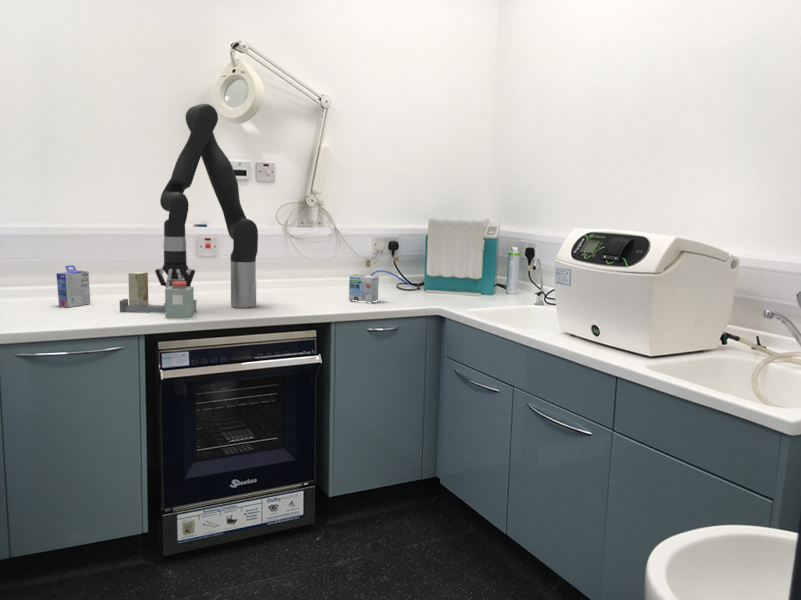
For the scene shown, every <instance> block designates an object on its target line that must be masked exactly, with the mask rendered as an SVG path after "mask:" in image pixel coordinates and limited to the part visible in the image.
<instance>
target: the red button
mask: <svg viewBox="0 0 801 600" xmlns="http://www.w3.org/2000/svg"><path fill="white" fill-rule="evenodd" d="M186 285H187V283H186V281H173V282H172V286H174V289H185V286H186Z"/></svg>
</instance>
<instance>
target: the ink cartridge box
mask: <svg viewBox="0 0 801 600" xmlns="http://www.w3.org/2000/svg"><path fill="white" fill-rule="evenodd" d="M69 268H71V269H69ZM65 270H66V272H58V273H56V274H55V275H56V286H57V299H58V307H61V306H62V308H71V307H79V305H80V306H85V305H90V304H91V293H90V292H91V290H90V271H86V270H85V271H84V270H77V269H76V266H75V265H74V264H73V265H65Z"/></svg>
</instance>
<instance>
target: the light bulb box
mask: <svg viewBox="0 0 801 600" xmlns="http://www.w3.org/2000/svg"><path fill="white" fill-rule="evenodd" d="M379 280H380V277H379V275H370V274H352V275H350V276H349V283H348V286H349V287H348V301H349V300H357V301H366V302H373V301H376V300H378V301H379Z"/></svg>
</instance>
